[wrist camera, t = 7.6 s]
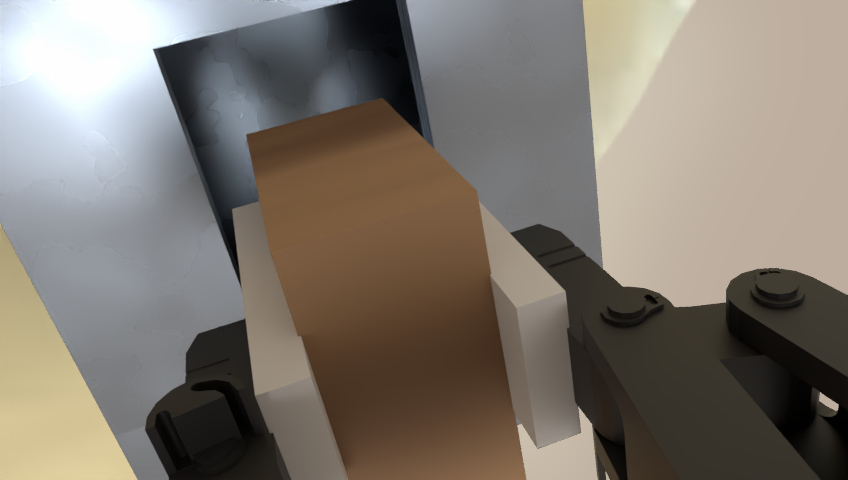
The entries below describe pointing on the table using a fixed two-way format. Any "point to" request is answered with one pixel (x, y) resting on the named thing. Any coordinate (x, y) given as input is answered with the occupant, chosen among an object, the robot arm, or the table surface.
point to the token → (389, 295)
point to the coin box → (229, 153)
